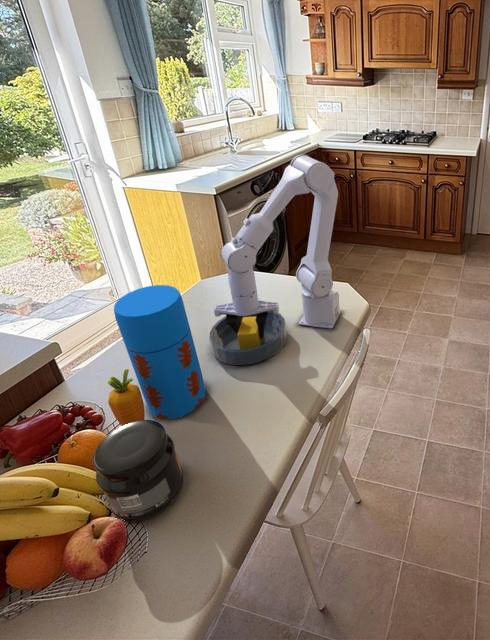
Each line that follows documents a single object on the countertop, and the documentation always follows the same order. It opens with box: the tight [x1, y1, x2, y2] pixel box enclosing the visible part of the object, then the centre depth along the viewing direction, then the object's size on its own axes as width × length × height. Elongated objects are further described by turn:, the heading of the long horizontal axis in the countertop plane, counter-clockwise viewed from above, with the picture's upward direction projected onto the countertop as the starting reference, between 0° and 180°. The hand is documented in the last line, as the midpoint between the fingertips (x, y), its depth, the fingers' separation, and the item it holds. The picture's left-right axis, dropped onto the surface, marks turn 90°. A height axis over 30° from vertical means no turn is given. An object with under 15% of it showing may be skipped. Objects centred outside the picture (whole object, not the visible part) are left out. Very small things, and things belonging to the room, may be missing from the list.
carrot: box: [107, 368, 146, 426], centre depth 74 cm, size 5×5×15 cm
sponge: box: [237, 317, 262, 350], centre depth 100 cm, size 4×7×5 cm, turn 7°
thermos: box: [113, 284, 206, 421], centre depth 79 cm, size 11×11×25 cm
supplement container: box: [92, 419, 184, 523], centre depth 65 cm, size 10×10×12 cm
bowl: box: [209, 312, 288, 366], centre depth 101 cm, size 18×18×4 cm
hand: (251, 336), depth 101 cm, fingers closed on sponge, 4 cm apart
